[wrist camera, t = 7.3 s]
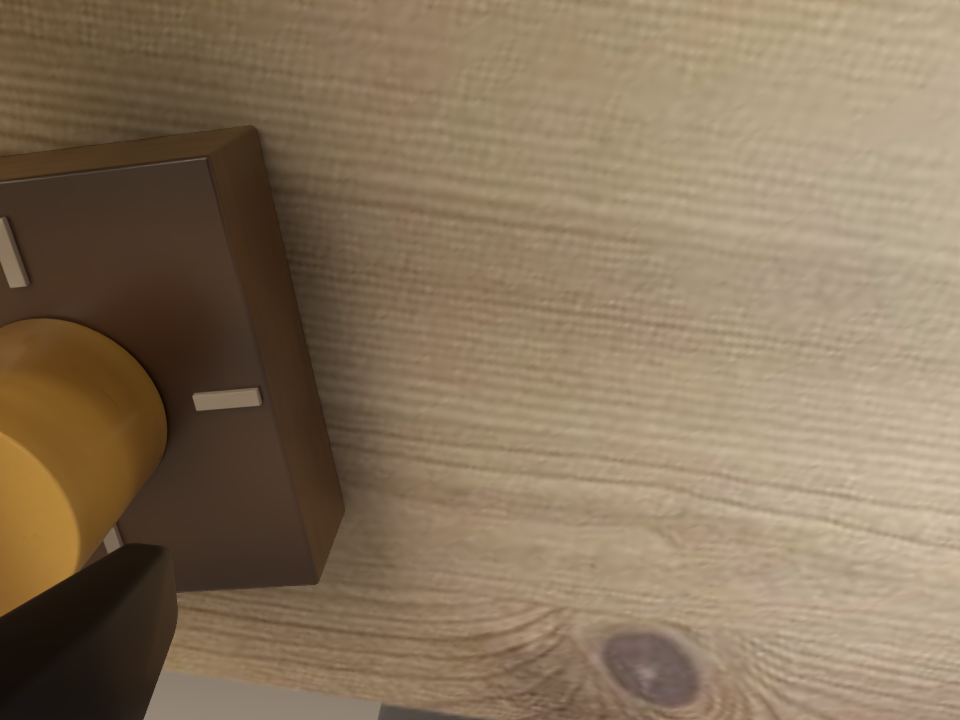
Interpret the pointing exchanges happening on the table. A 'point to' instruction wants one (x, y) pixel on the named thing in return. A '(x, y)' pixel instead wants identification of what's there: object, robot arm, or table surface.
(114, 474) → the lock knob
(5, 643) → the robot arm
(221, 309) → the brown flat block
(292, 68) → the table surface
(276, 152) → the table surface
